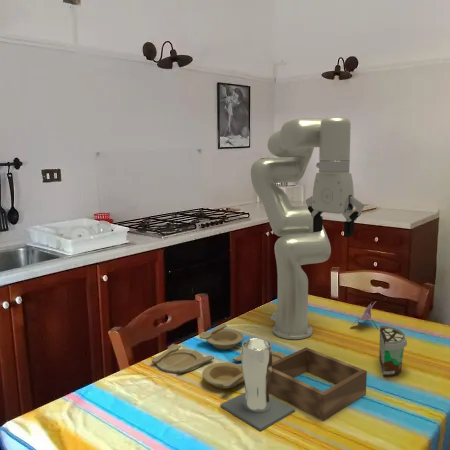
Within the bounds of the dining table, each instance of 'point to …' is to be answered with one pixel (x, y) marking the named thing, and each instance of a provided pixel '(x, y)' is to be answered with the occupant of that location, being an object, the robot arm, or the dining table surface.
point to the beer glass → (256, 373)
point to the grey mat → (258, 419)
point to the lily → (366, 314)
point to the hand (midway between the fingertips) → (332, 234)
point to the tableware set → (209, 359)
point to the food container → (391, 350)
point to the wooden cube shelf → (310, 396)
